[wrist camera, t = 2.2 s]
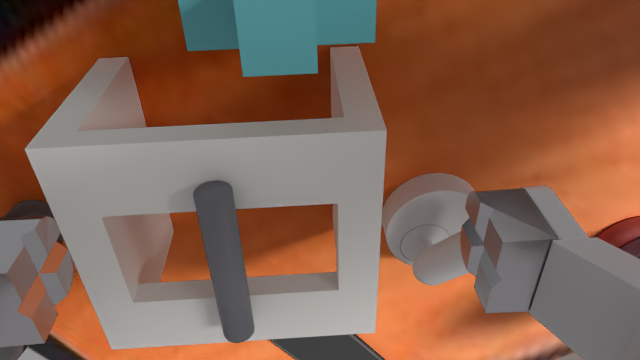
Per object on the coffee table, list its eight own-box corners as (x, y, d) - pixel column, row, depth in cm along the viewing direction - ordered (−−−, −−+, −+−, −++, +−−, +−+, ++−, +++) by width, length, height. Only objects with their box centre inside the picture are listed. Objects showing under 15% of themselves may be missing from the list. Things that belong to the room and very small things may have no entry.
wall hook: (558, 264, 35) (466, 344, 40) (509, 185, 43) (437, 259, 47) (466, 220, 32) (379, 312, 37) (431, 144, 40) (362, 227, 45)
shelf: (358, 46, 35) (394, 151, 23) (355, 221, 44) (379, 357, 33) (99, 58, 34) (5, 171, 23) (151, 232, 43) (103, 376, 32)
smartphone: (346, 397, 59) (265, 339, 52) (345, 389, 60) (265, 332, 53) (399, 373, 57) (321, 309, 50) (397, 366, 58) (321, 301, 50)
